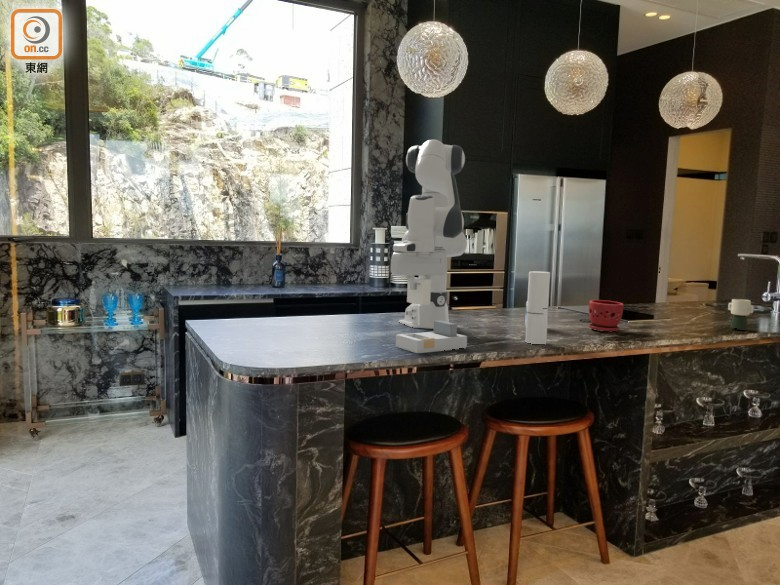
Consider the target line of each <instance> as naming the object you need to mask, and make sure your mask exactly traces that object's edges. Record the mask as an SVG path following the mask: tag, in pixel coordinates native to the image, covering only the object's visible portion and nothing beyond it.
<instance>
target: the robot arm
mask: <svg viewBox="0 0 780 585" xmlns="http://www.w3.org/2000/svg"><path fill="white" fill-rule="evenodd" d="M465 162H466V155H465V153H464V149H463V148H462V147H461V146H460V145H457V144H452V145H450V144H444V143H443V142H441V141H440V140H438V139H435V138H434V139H428V140H426V141H425V142H423V143H422V145H419V144H416V145H413V146H411V147H409V148H408V150H407V154H406V157H405V163H406V166H407V169H408V171H409V172H411V173H413V174H415V179H416V180H417V183H418V184H419V185H420V186H421V187H422V188H421V194H416V195H415V194H414V195H412V196H411V197H410V199H409V204H408V210H407V213H405V214H406V215H405V228H406V229H407V230H406V231H405V233H404V234H403V235H402V238H401V241H399V242H397V243H395V244H393V245H392V250H393V253H392V254H391V259H390V273H391V274H392V276H404V277H405V276H406V279H407V282H408V281H409V283H410V289H411V290H416V289H417V284H415V283H414V280H413V279H415V276H418V278H424V279H431V295H430V305H420V304H415V303H410V305H408V306H407V307H406V308H405V312H404V319H399V320H398V323H399V322H400V323H399V324H402V325H404V324H405V326H407V327H410V328H412V327H413V329H414V328H416V329H417V328H418V329H419V328H420V329H433V330H434V321H439V320H442V321H446V322H450V320H449V307H448V306H449V305H448V304H447V301H448V291H447V283H448V282H447V281H448V280H447V279H448V274H447V273H448V259H447V258H452V257H453V258H454V257H460V256H462V255H463V254H464V253H465V252H466V250H467V246H468V241H467V237H466V235H465V233H464V232H463V230H464V226H465V225H464V224H465V220H464V216H463V212H462V208H461V202H460V195H459V190H458V185H457V181H456V177H455V175H457V174H459V173H460V172H461V171H462V170H463V168H464V165H465Z"/></svg>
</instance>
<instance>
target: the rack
mask: <svg viewBox="0 0 780 585" xmlns="http://www.w3.org/2000/svg"><path fill="white" fill-rule="evenodd" d="M467 343H468V336H467V335H463V334H460V333H458V323H454V322H450V321H449V322H446V321H442V320H439V321H434V329H433V331H426V332H425V331H424V332H413V333H412V332H410V333H400V334H396V335H395V348H398V349H402V350H404V351H408V352H412V353H415V354H425V353H435V352H442V351H443V352H445V351H452V349H455V350H460V349H459V348H464V349H467V348H466V347H467V346H468V344H467ZM444 350H445V351H444Z"/></svg>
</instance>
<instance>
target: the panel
mask: <svg viewBox="0 0 780 585" xmlns="http://www.w3.org/2000/svg"><path fill="white" fill-rule="evenodd" d="M413 280H414V283H415V284H417V289H416V290H411V289H410V283H409V281H408V280H407V286H406V287H407V289H406V296H407V297H406V302H407V303H409V304H412V303H415V304H420V305H430V295H431V279H424V278H419V277H415V279H413Z"/></svg>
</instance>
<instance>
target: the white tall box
mask: <svg viewBox="0 0 780 585" xmlns="http://www.w3.org/2000/svg"><path fill="white" fill-rule="evenodd" d="M550 277H551V272H550V271H540V270H539V271H534V270H533V271H528V286H527V319H526V327H525V341H524V342H527V343H531V344H530V345H532V344H545V345H547V338H548V337H547V335H548V317H549V300H550V299H549V298H550V281H551V278H550ZM527 343H526V344H527Z"/></svg>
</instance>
